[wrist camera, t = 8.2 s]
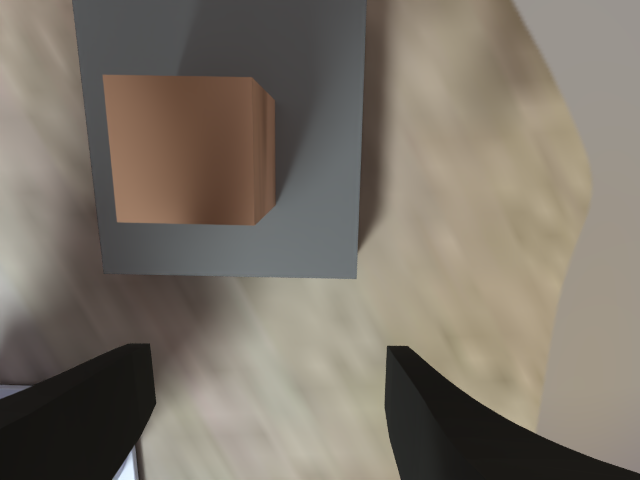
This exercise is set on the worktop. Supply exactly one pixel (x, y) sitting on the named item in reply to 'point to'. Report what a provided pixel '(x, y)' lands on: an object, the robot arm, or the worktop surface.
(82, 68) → the charcoal stand
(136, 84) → the terracotta block
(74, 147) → the worktop surface
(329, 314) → the worktop surface
